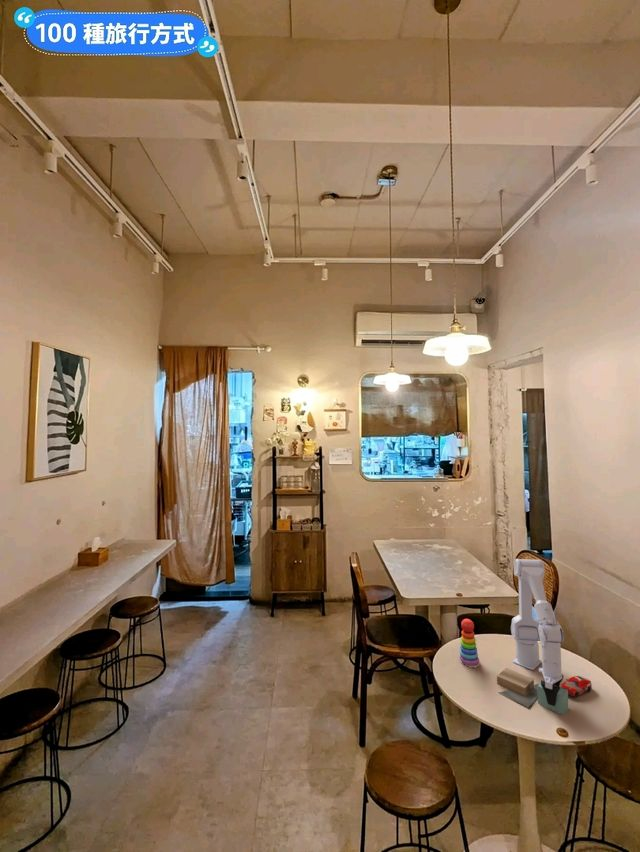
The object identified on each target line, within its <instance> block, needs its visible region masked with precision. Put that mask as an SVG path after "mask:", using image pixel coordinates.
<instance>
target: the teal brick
mask: <svg viewBox="0 0 640 852" xmlns="http://www.w3.org/2000/svg"><path fill="white" fill-rule="evenodd" d="M538 684H539V685H538V686H537V690H538V698H537V704H538V705H541V706H542V707H545V708H547V709H549V710H552V711H554V712H555V713H558V714H560V715H563V716H564V715H565V714H566V713H567V711H568V710H569V694H568V690H566V689H563V688H561V686H560V690H559V692H558V693H557V698H556V704H555V706H552V705H549V704H548V703H547V699H546V695H545V692H544V690H543V688H542V686H541V681H540V682H539V683H538ZM555 686H556V685H555Z"/></svg>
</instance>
